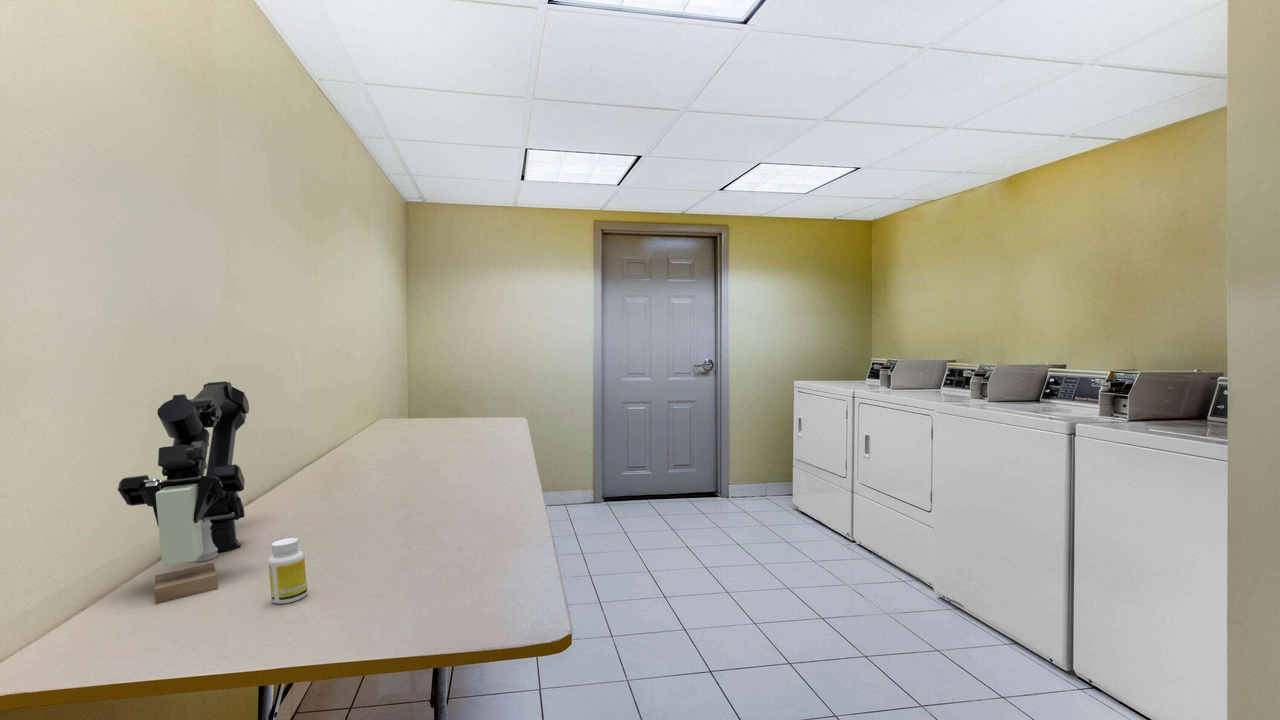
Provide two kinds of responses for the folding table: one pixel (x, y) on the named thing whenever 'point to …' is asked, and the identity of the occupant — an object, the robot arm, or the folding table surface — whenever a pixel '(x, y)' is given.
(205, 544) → the rook chess piece
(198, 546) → the sage post
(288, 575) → the supplement bottle
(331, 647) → the folding table surface
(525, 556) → the folding table surface
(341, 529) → the folding table surface
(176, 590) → the walnut block
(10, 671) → the folding table surface
